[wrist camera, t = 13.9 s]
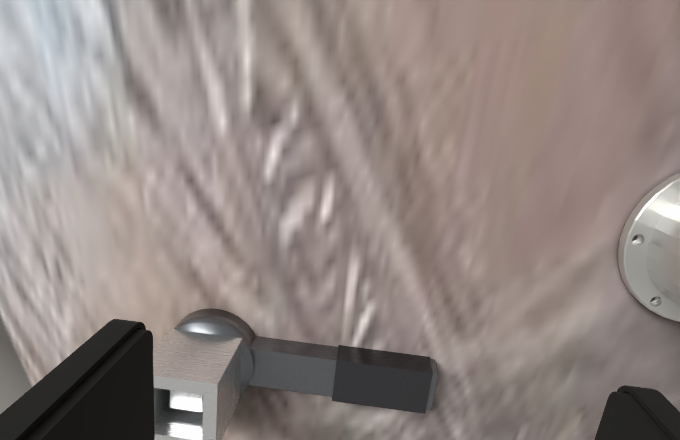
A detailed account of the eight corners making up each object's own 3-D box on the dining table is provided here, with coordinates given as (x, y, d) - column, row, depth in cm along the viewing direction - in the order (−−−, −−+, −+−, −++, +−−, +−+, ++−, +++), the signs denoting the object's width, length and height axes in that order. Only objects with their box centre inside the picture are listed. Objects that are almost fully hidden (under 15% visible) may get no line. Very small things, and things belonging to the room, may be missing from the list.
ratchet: (438, 337, 37) (452, 385, 31) (424, 414, 40) (434, 474, 33) (172, 303, 38) (133, 343, 32) (172, 380, 40) (136, 432, 34)
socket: (242, 338, 36) (217, 384, 30) (239, 399, 38) (215, 453, 32) (171, 328, 36) (133, 372, 30) (171, 389, 38) (135, 442, 32)
